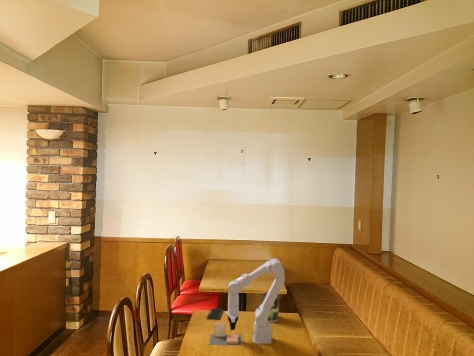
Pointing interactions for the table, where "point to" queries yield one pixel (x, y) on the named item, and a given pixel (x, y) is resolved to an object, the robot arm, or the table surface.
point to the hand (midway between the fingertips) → (232, 329)
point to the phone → (214, 314)
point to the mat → (223, 340)
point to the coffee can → (273, 309)
